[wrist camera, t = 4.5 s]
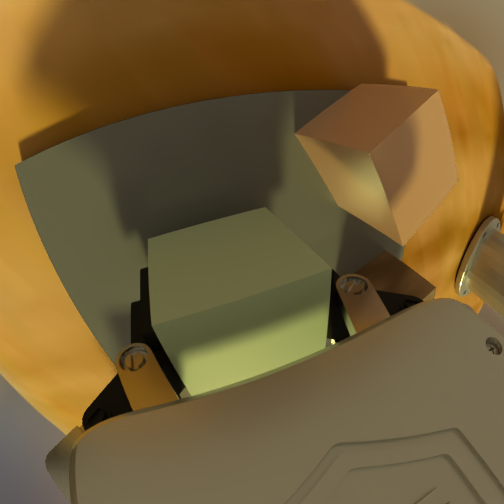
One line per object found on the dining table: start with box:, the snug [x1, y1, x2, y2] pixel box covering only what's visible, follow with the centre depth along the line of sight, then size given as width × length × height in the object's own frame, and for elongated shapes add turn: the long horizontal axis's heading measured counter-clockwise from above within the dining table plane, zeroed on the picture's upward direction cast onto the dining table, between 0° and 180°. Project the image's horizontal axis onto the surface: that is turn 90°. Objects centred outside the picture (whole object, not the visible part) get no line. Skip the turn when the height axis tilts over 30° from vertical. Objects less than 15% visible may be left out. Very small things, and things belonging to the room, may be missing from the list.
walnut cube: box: [353, 251, 436, 302], centre depth 18 cm, size 5×5×5 cm
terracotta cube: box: [294, 84, 458, 246], centre depth 11 cm, size 5×5×5 cm
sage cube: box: [148, 207, 332, 396], centre depth 10 cm, size 5×5×5 cm
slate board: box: [15, 90, 405, 365], centre depth 16 cm, size 22×20×1 cm
